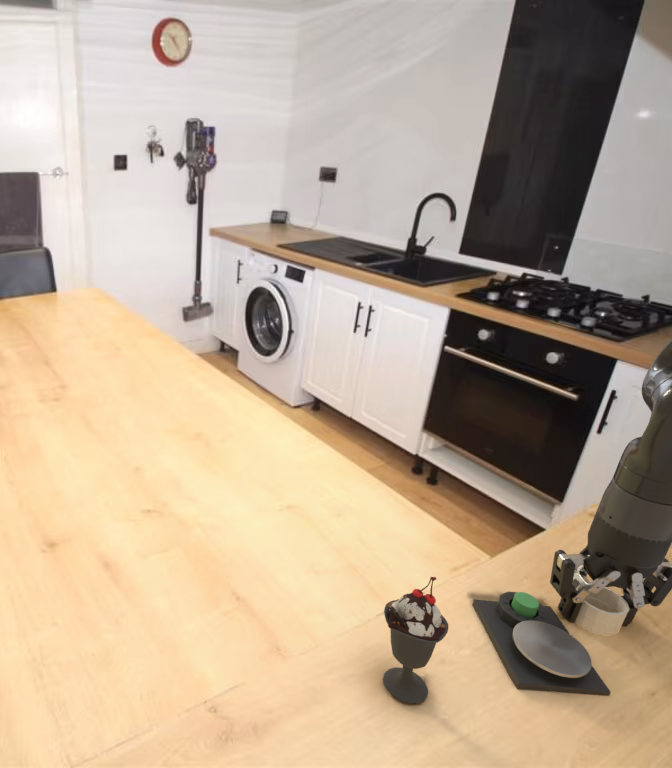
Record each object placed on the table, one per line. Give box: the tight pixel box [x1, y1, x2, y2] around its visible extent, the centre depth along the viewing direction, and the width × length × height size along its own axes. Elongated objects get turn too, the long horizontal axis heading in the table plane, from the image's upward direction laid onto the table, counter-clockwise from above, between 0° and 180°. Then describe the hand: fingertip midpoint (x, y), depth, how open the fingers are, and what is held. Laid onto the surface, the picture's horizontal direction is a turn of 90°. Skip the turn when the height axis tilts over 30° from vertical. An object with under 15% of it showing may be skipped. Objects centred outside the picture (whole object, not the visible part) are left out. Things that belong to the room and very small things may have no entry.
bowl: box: [574, 581, 629, 637], centre depth 73 cm, size 6×6×4 cm
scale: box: [472, 591, 611, 697], centre depth 69 cm, size 10×13×3 cm
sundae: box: [382, 576, 449, 704], centre depth 62 cm, size 7×7×15 cm
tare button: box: [511, 591, 540, 618], centre depth 72 cm, size 3×3×2 cm
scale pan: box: [512, 620, 593, 678], centre depth 66 cm, size 8×8×1 cm
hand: (592, 619), depth 73 cm, fingers closed on bowl, 6 cm apart
